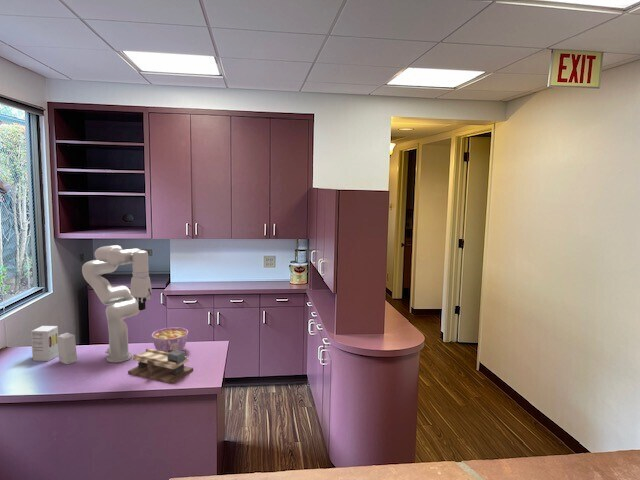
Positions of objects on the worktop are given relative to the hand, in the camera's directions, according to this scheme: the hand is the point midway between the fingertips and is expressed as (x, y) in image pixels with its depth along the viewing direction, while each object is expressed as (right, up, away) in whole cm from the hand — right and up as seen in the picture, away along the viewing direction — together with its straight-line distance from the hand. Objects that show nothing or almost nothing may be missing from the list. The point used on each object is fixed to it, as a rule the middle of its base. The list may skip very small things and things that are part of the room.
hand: (142, 309), depth 221 cm
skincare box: (-45, -30, +11) cm, 55 cm away
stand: (+10, -33, 0) cm, 34 cm away
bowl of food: (+6, -29, +26) cm, 40 cm away
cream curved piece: (+10, -26, -1) cm, 27 cm away
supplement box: (-59, -29, +16) cm, 68 cm away
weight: (+19, -26, -4) cm, 32 cm away
